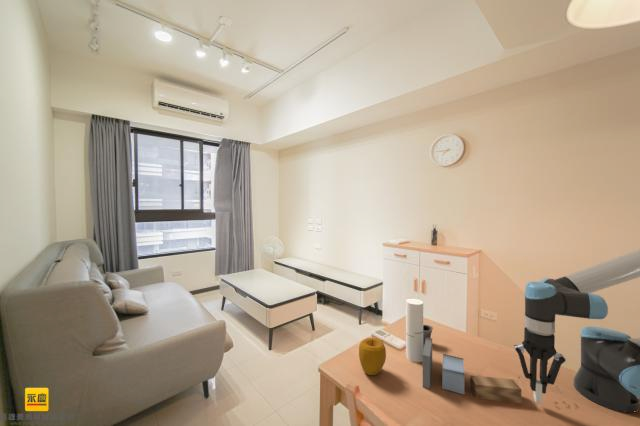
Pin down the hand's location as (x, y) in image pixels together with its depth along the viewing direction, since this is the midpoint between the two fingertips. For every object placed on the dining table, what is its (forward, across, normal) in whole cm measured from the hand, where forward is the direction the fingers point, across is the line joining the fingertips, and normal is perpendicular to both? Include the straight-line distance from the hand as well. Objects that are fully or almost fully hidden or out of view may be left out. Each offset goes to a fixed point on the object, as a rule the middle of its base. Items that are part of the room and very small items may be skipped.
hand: (537, 400), depth 83 cm
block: (+3, +25, 0) cm, 25 cm away
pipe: (+3, +38, -24) cm, 45 cm away
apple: (+3, +54, +7) cm, 54 cm away
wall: (+3, +34, 0) cm, 34 cm away
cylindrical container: (+3, +40, -11) cm, 41 cm away
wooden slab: (+3, +12, 0) cm, 12 cm away
